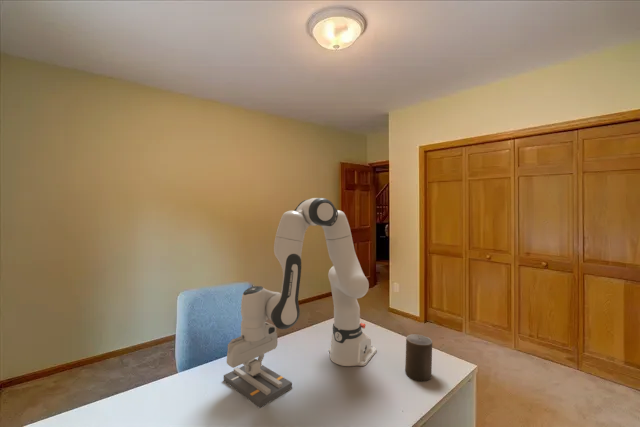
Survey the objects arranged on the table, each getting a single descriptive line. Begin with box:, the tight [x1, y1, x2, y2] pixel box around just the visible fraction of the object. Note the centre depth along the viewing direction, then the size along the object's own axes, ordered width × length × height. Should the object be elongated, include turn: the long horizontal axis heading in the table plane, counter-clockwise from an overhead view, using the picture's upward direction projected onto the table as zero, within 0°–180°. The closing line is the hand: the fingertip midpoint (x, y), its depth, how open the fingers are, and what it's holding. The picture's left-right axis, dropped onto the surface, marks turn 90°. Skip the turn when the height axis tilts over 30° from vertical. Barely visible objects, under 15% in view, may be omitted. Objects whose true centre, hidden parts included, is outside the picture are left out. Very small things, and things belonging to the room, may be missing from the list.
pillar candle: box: [404, 333, 433, 382], centre depth 114 cm, size 10×10×15 cm
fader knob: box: [248, 358, 260, 377], centre depth 108 cm, size 3×4×5 cm
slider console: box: [223, 364, 293, 409], centre depth 107 cm, size 14×22×3 cm, turn 48°
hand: (253, 368), depth 108 cm, fingers closed on fader knob, 3 cm apart
